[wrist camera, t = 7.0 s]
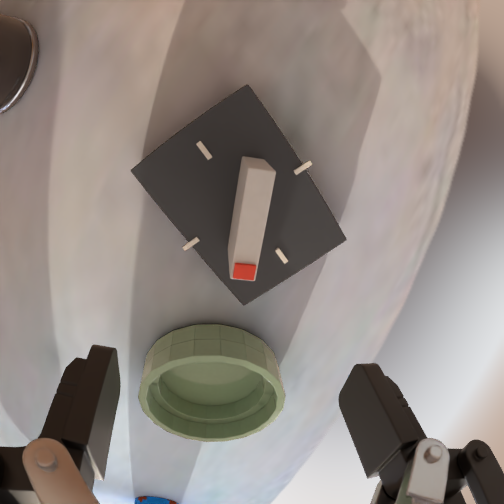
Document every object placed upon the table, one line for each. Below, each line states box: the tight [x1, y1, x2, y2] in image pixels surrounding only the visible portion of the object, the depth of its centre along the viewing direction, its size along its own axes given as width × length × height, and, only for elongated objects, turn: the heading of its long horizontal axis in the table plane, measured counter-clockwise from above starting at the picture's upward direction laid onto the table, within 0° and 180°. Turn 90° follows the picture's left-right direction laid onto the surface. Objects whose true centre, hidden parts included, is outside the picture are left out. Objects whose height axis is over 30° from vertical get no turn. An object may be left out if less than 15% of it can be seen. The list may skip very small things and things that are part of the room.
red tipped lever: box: [228, 156, 276, 281], centre depth 20 cm, size 7×2×5 cm, turn 170°
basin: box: [138, 324, 285, 442], centre depth 31 cm, size 15×15×5 cm
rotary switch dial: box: [131, 85, 346, 305], centre depth 24 cm, size 14×11×3 cm
